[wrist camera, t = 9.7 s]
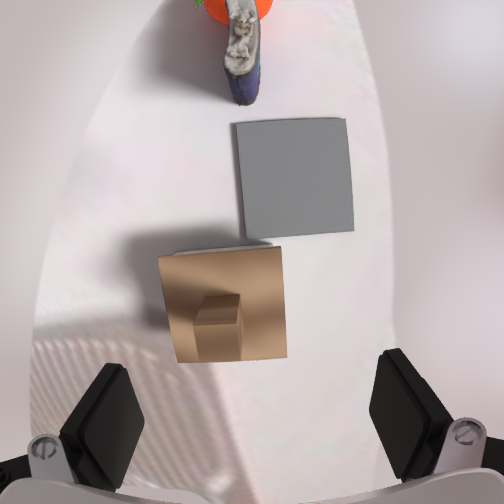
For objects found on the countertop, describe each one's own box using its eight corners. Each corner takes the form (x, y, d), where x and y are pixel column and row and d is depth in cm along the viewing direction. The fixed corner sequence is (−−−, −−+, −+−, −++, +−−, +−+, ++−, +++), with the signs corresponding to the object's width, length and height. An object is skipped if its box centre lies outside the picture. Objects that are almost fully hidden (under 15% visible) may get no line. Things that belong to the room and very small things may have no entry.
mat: (236, 125, 28) (236, 123, 28) (343, 119, 28) (345, 118, 27) (247, 238, 31) (246, 239, 30) (352, 230, 31) (354, 231, 30)
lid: (160, 256, 27) (132, 277, 21) (280, 245, 27) (288, 266, 20) (179, 358, 30) (163, 399, 23) (286, 353, 29) (293, 395, 23)
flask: (231, 31, 26) (222, -25, 15) (259, 31, 26) (261, -26, 15) (231, 107, 28) (220, 70, 18) (261, 106, 28) (264, 69, 17)
